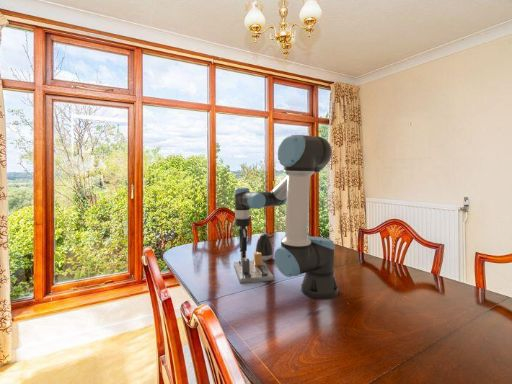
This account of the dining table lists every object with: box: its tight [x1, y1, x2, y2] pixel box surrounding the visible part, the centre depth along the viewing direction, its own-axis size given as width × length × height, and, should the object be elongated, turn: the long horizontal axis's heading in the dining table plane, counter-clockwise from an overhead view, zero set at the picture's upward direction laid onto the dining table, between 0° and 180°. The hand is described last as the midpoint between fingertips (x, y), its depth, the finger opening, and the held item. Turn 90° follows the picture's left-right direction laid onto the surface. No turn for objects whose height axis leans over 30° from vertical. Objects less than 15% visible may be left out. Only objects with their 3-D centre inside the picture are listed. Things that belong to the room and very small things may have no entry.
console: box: [233, 259, 275, 284], centre depth 143 cm, size 24×16×3 cm
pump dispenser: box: [255, 233, 274, 262], centre depth 164 cm, size 10×10×15 cm
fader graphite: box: [240, 257, 250, 273], centre depth 139 cm, size 3×4×6 cm
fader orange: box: [253, 252, 262, 266], centre depth 149 cm, size 3×4×6 cm
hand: (243, 263), depth 146 cm, fingers closed
